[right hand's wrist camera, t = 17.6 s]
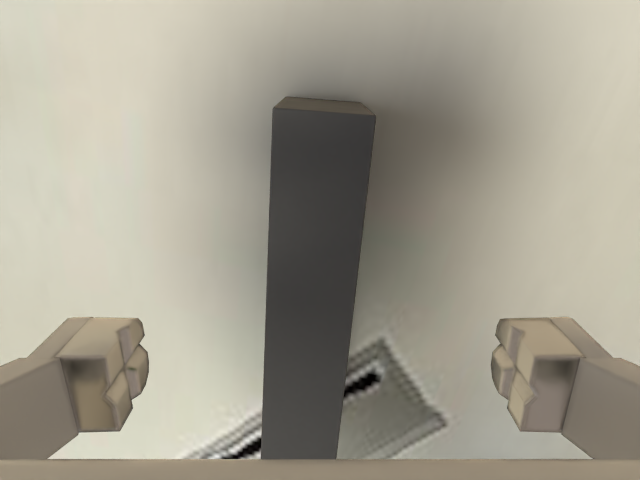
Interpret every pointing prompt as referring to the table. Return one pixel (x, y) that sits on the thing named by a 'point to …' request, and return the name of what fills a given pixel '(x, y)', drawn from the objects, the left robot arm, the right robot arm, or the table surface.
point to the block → (312, 270)
